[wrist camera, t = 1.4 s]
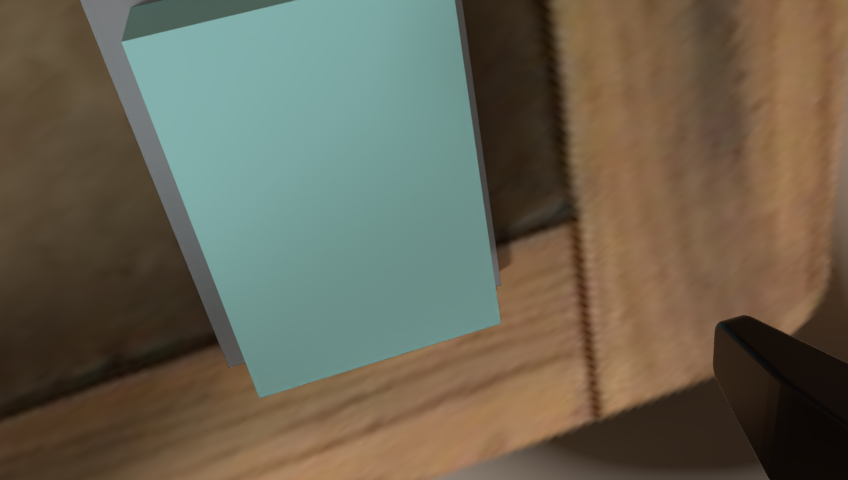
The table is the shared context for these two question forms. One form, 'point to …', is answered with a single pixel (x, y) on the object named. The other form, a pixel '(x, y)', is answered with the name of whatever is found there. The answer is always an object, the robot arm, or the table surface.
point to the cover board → (323, 173)
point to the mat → (107, 18)
